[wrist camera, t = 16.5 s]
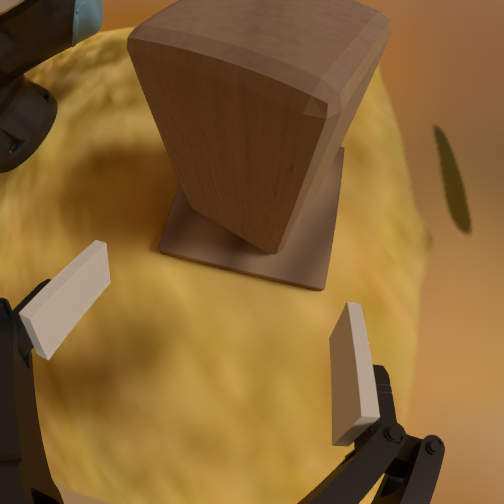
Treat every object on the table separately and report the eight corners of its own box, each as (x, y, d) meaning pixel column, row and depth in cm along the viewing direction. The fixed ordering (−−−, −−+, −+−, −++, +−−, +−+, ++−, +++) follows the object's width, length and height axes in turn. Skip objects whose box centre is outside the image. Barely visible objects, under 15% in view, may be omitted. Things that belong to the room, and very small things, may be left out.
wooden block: (186, 208, 28) (112, 34, 9) (241, 137, 30) (239, -35, 11) (275, 261, 27) (338, 108, 8) (324, 180, 29) (399, 15, 10)
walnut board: (161, 253, 29) (157, 249, 27) (207, 126, 33) (206, 118, 31) (320, 291, 28) (324, 289, 26) (340, 154, 32) (344, 147, 30)
